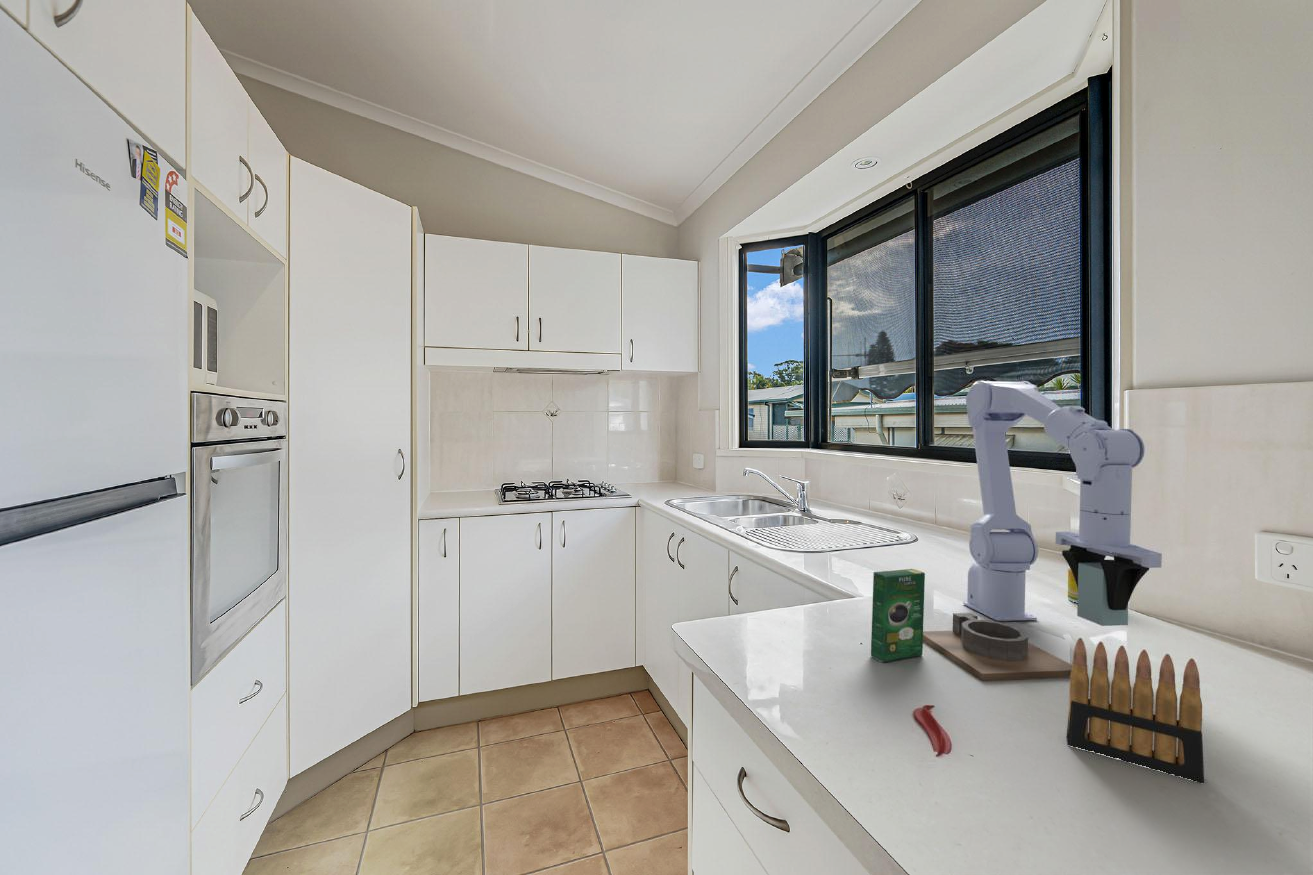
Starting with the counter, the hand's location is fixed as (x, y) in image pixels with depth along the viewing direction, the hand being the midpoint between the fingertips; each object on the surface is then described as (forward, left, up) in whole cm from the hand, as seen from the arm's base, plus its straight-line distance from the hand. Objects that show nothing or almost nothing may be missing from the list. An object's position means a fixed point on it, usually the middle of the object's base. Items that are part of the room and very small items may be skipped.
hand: (1102, 603), depth 77 cm
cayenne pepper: (+13, -35, -10) cm, 38 cm away
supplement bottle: (-27, +24, -10) cm, 37 cm away
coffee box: (-6, -28, -10) cm, 30 cm away
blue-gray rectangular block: (0, 0, -2) cm, 2 cm away
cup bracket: (-5, -13, -9) cm, 17 cm away
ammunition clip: (+20, -17, -10) cm, 28 cm away
